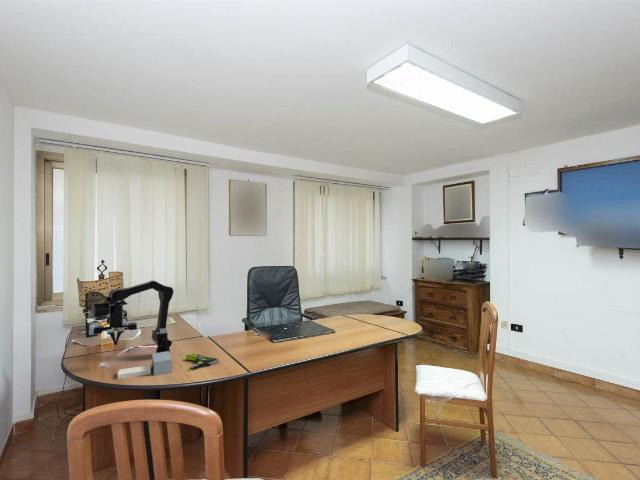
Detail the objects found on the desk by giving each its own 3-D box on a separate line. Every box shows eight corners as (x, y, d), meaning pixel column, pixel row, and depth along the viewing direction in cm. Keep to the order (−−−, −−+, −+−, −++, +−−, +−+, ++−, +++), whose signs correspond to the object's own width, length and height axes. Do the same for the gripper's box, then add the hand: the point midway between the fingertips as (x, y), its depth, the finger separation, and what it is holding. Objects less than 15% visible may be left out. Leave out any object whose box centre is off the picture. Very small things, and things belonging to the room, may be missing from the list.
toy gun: (170, 362, 170) (190, 351, 184) (170, 370, 170) (190, 358, 185) (203, 369, 165) (220, 356, 179) (203, 377, 165) (220, 364, 179)
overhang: (168, 363, 177) (168, 351, 177) (171, 372, 165) (171, 359, 165) (152, 366, 173) (152, 353, 173) (153, 375, 161) (154, 362, 161)
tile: (150, 369, 169) (150, 365, 169) (150, 374, 163) (150, 369, 163) (118, 374, 163) (119, 369, 163) (117, 380, 157) (117, 374, 157)
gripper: (136, 309, 181) (136, 338, 181) (95, 312, 172) (95, 343, 172) (137, 313, 171) (136, 343, 171) (93, 317, 162) (93, 349, 162)
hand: (115, 344), depth 169 cm, fingers closed
